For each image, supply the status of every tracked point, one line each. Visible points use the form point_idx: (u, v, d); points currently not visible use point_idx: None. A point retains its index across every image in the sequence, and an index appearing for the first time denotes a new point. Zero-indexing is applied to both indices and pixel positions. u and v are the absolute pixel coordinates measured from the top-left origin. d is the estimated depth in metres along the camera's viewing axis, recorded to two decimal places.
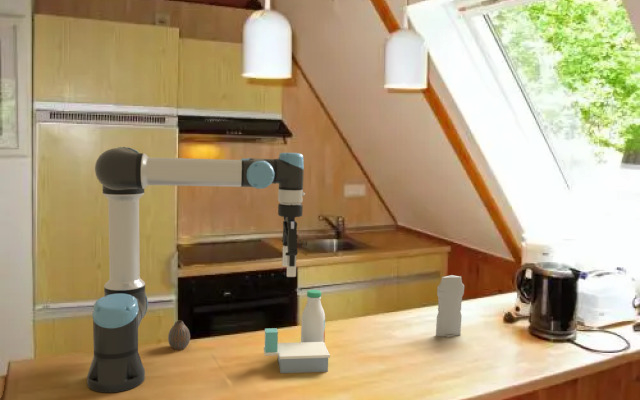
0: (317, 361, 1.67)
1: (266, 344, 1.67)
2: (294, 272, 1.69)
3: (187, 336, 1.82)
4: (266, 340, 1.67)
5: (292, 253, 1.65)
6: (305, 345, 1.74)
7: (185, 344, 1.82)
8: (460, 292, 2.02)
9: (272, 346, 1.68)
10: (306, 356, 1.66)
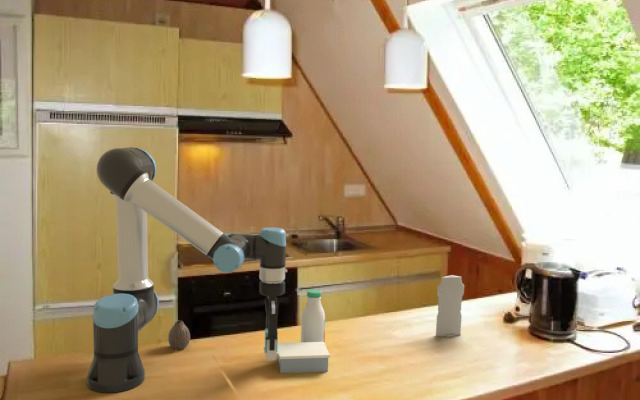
0: (317, 361, 1.67)
1: (266, 344, 1.67)
2: (274, 356, 1.67)
3: (187, 336, 1.82)
4: (266, 340, 1.67)
5: (272, 339, 1.63)
6: (305, 345, 1.74)
7: (185, 344, 1.82)
8: (460, 292, 2.02)
9: None
10: (306, 356, 1.66)
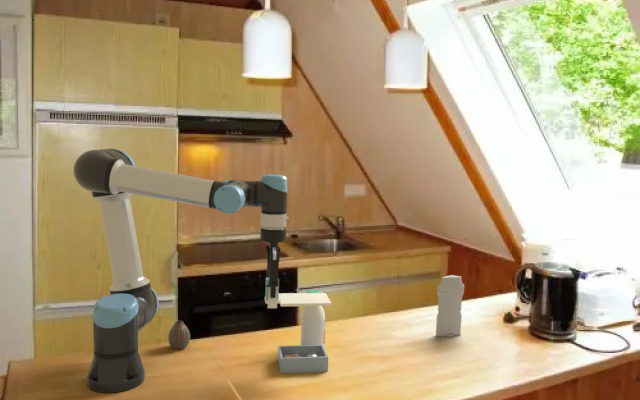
0: (317, 361, 1.67)
1: (267, 292, 1.66)
2: (275, 303, 1.65)
3: (187, 336, 1.82)
4: (267, 288, 1.65)
5: (273, 285, 1.61)
6: (306, 295, 1.72)
7: (185, 344, 1.82)
8: (460, 292, 2.02)
9: None
10: (307, 304, 1.64)
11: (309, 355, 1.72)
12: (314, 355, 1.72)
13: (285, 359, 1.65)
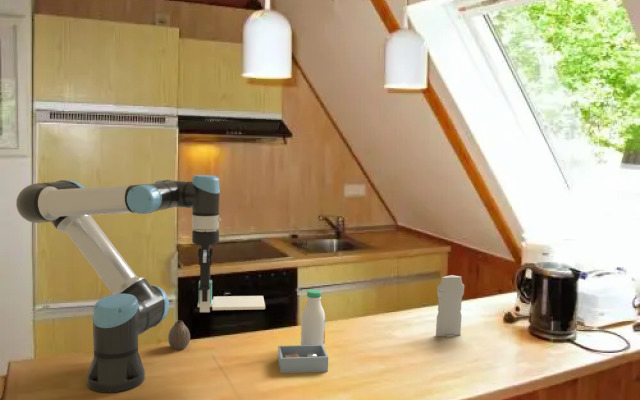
0: (317, 361, 1.67)
1: (199, 295, 1.62)
2: (207, 307, 1.61)
3: (187, 336, 1.82)
4: (199, 291, 1.61)
5: (203, 289, 1.57)
6: (242, 298, 1.68)
7: (185, 344, 1.82)
8: (460, 292, 2.02)
9: None
10: (240, 307, 1.60)
11: (309, 354, 1.72)
12: (314, 355, 1.72)
13: (285, 359, 1.65)
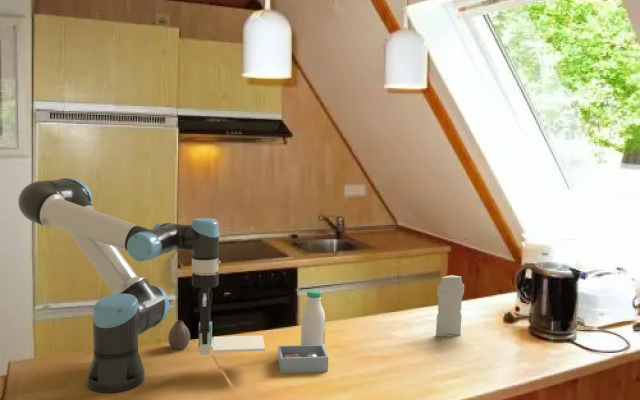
0: (317, 361, 1.67)
1: (199, 338, 1.63)
2: (208, 350, 1.62)
3: (187, 336, 1.82)
4: (199, 333, 1.63)
5: (203, 332, 1.59)
6: (242, 339, 1.69)
7: (185, 344, 1.82)
8: (460, 292, 2.02)
9: None
10: (240, 350, 1.62)
11: (309, 354, 1.72)
12: (313, 355, 1.71)
13: (285, 359, 1.65)
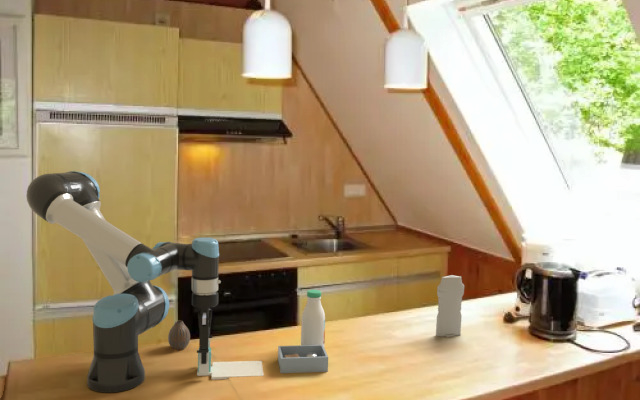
0: (317, 361, 1.67)
1: None
2: (207, 369, 1.61)
3: (187, 336, 1.82)
4: None
5: (202, 352, 1.57)
6: (241, 364, 1.70)
7: (185, 344, 1.82)
8: (460, 292, 2.02)
9: None
10: None
11: (308, 354, 1.72)
12: (312, 355, 1.71)
13: (285, 359, 1.65)
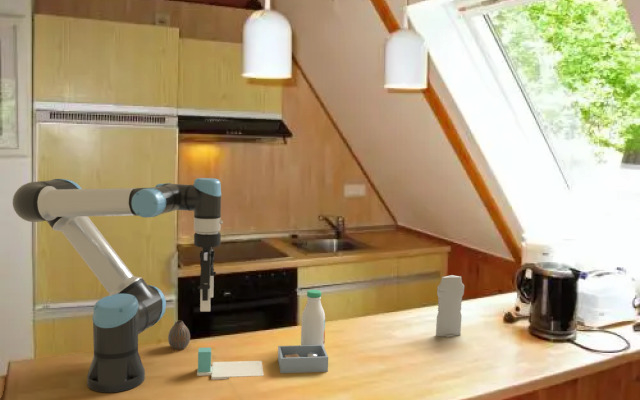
0: (317, 361, 1.67)
1: (199, 364, 1.64)
2: (208, 306, 1.58)
3: (187, 336, 1.82)
4: (199, 360, 1.64)
5: (203, 287, 1.54)
6: (241, 364, 1.70)
7: (185, 344, 1.82)
8: (460, 292, 2.02)
9: (205, 366, 1.64)
10: None
11: (310, 353, 1.73)
12: (312, 355, 1.72)
13: (285, 359, 1.65)
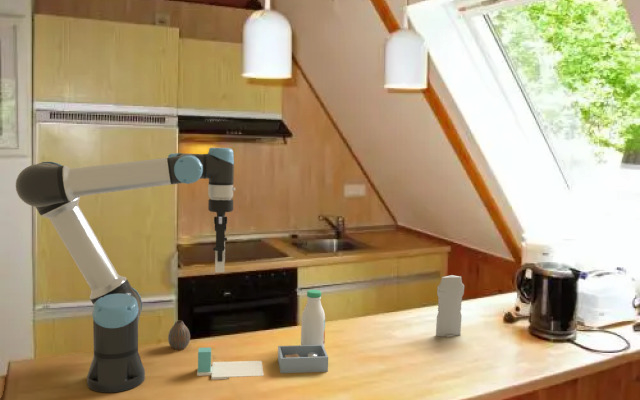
0: (317, 361, 1.67)
1: (199, 364, 1.64)
2: (222, 267, 1.68)
3: (187, 336, 1.82)
4: (199, 360, 1.64)
5: (219, 248, 1.65)
6: (241, 364, 1.70)
7: (185, 344, 1.82)
8: (460, 292, 2.02)
9: (205, 366, 1.64)
10: None
11: (312, 353, 1.73)
12: (311, 354, 1.72)
13: (285, 359, 1.65)
